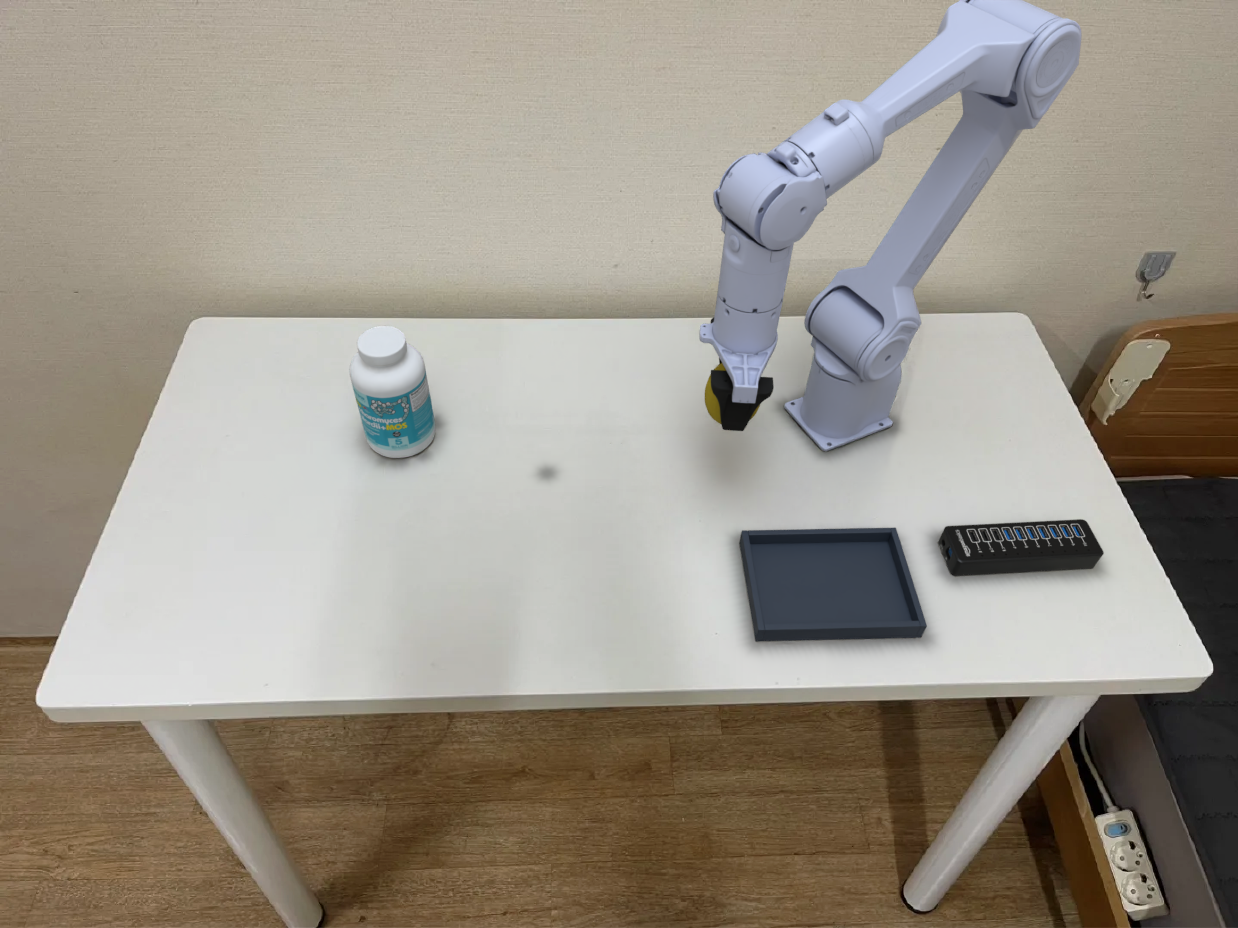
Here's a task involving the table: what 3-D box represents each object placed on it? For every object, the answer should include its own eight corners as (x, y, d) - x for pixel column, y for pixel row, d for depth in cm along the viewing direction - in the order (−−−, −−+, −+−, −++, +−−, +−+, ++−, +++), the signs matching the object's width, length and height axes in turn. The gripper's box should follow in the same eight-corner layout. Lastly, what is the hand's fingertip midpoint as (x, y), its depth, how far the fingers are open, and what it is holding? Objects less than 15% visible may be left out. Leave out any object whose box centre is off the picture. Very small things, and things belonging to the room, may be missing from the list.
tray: (890, 539, 88) (896, 527, 87) (921, 638, 81) (927, 626, 79) (739, 542, 88) (741, 530, 86) (755, 641, 80) (758, 630, 79)
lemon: (763, 414, 90) (775, 354, 84) (745, 450, 86) (756, 389, 81) (712, 397, 91) (721, 337, 86) (692, 432, 88) (699, 371, 82)
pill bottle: (353, 449, 95) (325, 352, 85) (390, 405, 100) (368, 308, 90) (414, 470, 93) (393, 373, 83) (449, 423, 98) (433, 327, 88)
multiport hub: (1095, 568, 86) (1105, 554, 85) (951, 576, 85) (958, 562, 84) (1076, 532, 89) (1085, 518, 88) (936, 540, 88) (943, 525, 87)
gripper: (704, 242, 82) (692, 354, 92) (704, 344, 72) (690, 457, 82) (781, 247, 82) (760, 359, 92) (790, 349, 72) (766, 462, 82)
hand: (732, 405), depth 87 cm, fingers closed on lemon, 5 cm apart
